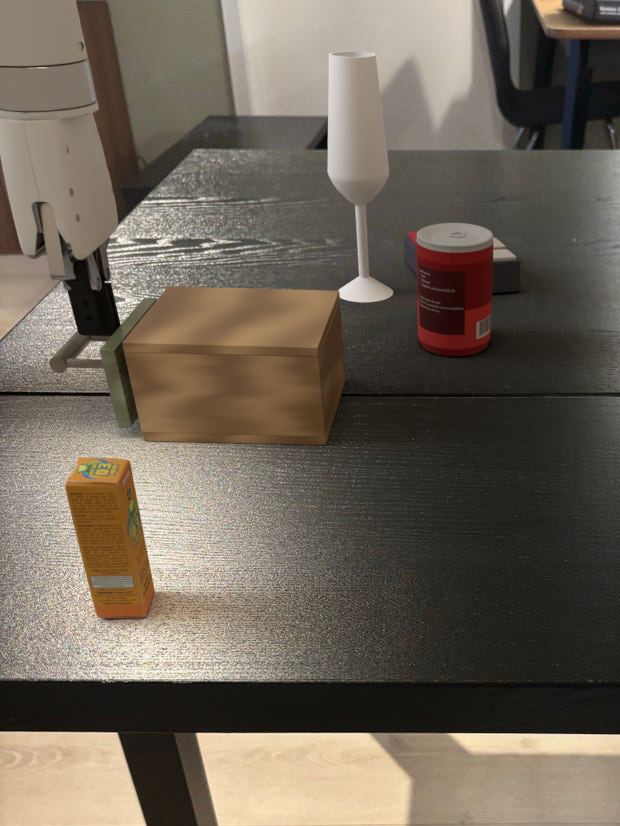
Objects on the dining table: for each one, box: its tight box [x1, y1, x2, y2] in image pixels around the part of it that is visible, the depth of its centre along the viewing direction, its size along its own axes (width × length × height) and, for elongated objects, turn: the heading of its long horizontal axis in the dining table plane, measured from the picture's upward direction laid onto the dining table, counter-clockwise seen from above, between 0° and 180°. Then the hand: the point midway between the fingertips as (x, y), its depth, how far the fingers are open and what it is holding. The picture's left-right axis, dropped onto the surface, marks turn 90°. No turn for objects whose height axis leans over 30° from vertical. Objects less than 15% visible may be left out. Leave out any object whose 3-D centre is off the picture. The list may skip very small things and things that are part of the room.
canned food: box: [416, 222, 494, 357], centre depth 95 cm, size 8×8×11 cm
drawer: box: [48, 297, 158, 428], centre depth 83 cm, size 20×12×7 cm, turn 89°
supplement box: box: [64, 457, 155, 619], centre depth 59 cm, size 3×4×10 cm
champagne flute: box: [326, 50, 394, 303], centre depth 103 cm, size 7×7×24 cm
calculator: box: [403, 231, 522, 294], centre depth 115 cm, size 11×4×15 cm
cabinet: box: [122, 285, 347, 446], centre depth 83 cm, size 16×14×9 cm
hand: (100, 331), depth 81 cm, fingers closed
